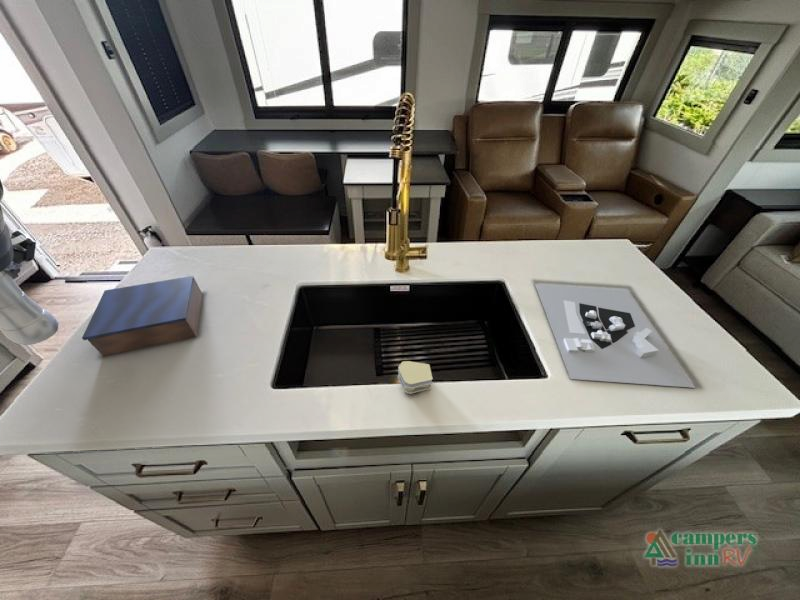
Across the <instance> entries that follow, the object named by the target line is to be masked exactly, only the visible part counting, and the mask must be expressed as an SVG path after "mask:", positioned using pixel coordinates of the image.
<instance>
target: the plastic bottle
mask: <svg viewBox="0 0 800 600" xmlns="http://www.w3.org/2000/svg"><path fill="white" fill-rule="evenodd" d="M58 329H59V321H58V320H57V318H56V316H55V315H54V314H52V313H51V312H50V311H48V310H47V309H45V308H43V307H42V306H40V305H39V304H38V303H37V302H36V301H34V300H33V299H32V298H31V297H29V296H28V295H27V294H26V293H25V292H24V290H22V288H21V287H20V286H19V285H18V284H17V283H16V281H15V279H12V277H11V276H10V274H9V273H8V272H7V270H3V271H1V272H0V331H1V333H2V335H3V336H5V338H6V339H7V340H10V341H11V342H13V343H15V344H17V345H23V346H31V345H36V344H40V343H42V342H45V341H47V340H49V339H50V338H51V337H53V336H54V335H55V334H56V333H57V332H58Z"/></svg>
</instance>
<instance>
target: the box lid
mask: <svg viewBox="0 0 800 600" xmlns="http://www.w3.org/2000/svg"><path fill="white" fill-rule="evenodd" d="M194 279H195V276H194V275H190V276H189V275H188V276H184V277H178V278H172V279H165V280H159V281H154V282H147V283H141V284H135V285H129V286H124V287H117V288H111V289H105V290H104V291H103V293H102V295H101V298H100V300H99V302H98V304H97V306H96V307H95V310H94V312H93V314H92V316H91V318H90V320H89V322H88V324H87V327H86V329H85V330H84V333H83V334H82V337H81V339H82V340H83V341H88V339H93V338H99V337H104V336H109V335H114V334H119V333H124V332H129V331H134V330H139V329H144V328H149V327H155V326H160V325H165V324H170V323H175V322H180V321H185V320H187V314H188V309H189V303H190V298H191V292H192V287H193V282H194Z"/></svg>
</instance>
